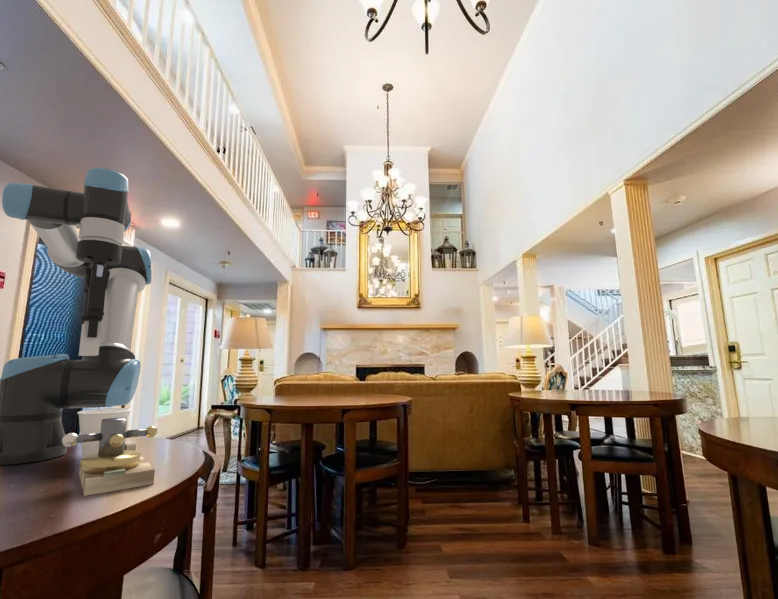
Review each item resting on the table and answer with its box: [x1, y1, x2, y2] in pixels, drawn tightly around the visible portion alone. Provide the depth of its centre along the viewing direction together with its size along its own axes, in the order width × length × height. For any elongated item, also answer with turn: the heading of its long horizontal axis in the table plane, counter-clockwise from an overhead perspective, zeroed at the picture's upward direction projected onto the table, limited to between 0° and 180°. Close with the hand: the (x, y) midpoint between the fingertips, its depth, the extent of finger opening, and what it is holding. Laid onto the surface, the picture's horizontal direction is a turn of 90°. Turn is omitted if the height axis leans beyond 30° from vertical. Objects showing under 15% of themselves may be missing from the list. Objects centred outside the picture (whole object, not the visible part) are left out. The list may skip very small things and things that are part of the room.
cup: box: [76, 407, 132, 459], centre depth 89 cm, size 10×10×11 cm
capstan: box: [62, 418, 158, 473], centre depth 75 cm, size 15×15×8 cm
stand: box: [78, 441, 156, 497], centre depth 76 cm, size 18×10×5 cm, turn 40°
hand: (88, 355), depth 79 cm, fingers open, 7 cm apart
